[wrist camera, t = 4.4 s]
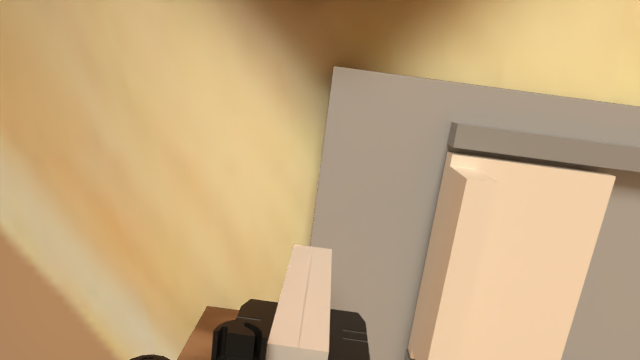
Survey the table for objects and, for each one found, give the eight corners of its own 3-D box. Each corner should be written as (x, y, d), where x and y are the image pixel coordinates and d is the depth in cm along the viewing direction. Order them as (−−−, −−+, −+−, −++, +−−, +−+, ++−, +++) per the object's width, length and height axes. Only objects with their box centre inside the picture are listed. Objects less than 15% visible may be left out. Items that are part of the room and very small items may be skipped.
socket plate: (297, 345, 25) (290, 394, 21) (334, 67, 21) (333, 65, 17) (667, 395, 25) (728, 453, 21) (769, 125, 21) (866, 135, 17)
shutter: (407, 348, 21) (420, 394, 18) (447, 151, 19) (469, 165, 16) (547, 366, 21) (583, 416, 18) (604, 172, 19) (658, 190, 16)
